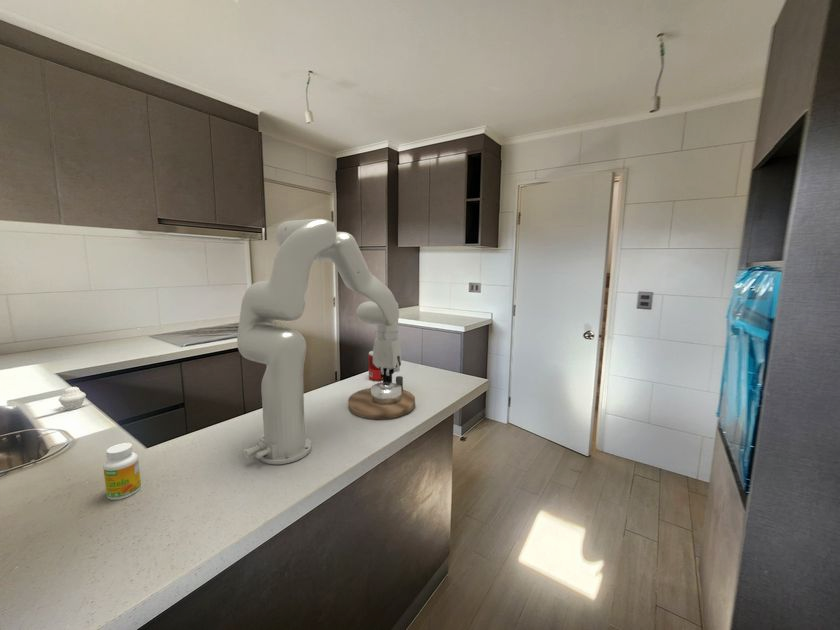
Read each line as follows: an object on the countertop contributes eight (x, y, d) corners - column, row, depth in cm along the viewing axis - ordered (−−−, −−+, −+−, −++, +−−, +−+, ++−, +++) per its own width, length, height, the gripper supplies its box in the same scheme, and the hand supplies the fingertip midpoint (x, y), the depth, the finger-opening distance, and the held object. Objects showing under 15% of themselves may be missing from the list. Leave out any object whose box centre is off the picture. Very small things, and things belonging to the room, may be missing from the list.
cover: (388, 407, 110) (388, 392, 109) (364, 400, 115) (364, 385, 114) (407, 397, 118) (407, 383, 117) (384, 391, 123) (384, 377, 123)
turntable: (384, 425, 102) (384, 402, 101) (334, 406, 115) (333, 385, 114) (427, 402, 119) (428, 382, 118) (380, 387, 132) (380, 370, 131)
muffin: (80, 410, 110) (77, 388, 109) (55, 413, 108) (52, 391, 107) (91, 403, 116) (88, 382, 115) (67, 405, 114) (64, 384, 113)
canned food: (384, 382, 140) (384, 355, 139) (365, 380, 142) (365, 354, 140) (390, 376, 148) (390, 350, 146) (372, 374, 149) (372, 349, 148)
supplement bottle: (102, 503, 68) (96, 457, 67) (113, 487, 73) (107, 443, 72) (136, 496, 70) (131, 451, 69) (144, 481, 75) (140, 439, 74)
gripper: (364, 334, 126) (365, 383, 128) (397, 340, 117) (396, 392, 120) (378, 331, 132) (378, 378, 134) (410, 336, 123) (410, 386, 126)
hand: (387, 384), depth 127 cm, fingers closed
